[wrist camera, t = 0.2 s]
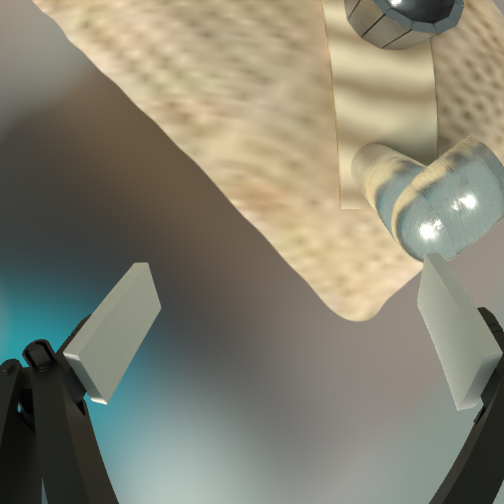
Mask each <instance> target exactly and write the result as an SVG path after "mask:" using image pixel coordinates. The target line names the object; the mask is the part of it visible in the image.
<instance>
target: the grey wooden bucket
mask: <svg viewBox="0 0 504 504" xmlns="http://www.w3.org/2000/svg"><path fill="white" fill-rule="evenodd" d="M344 6H345V12H346V18H347V20H348V23H349V24H350V25H351V26H352V28H353V29H354V30H355V32H356V33H357V34H358V35H359V37H362V38H361V39H363V40H365V41H367V42H369V43H371V44H372V45H374V46H376V47H378V48H381V49H388V50H403V49H406V48H408V47H410V46H412V45H414V44H417V43H419V42H421V41H423V40H425V39H428V38H430V37H432V36H435V35H437V34H439V33H441V32H443V31H445V30H448V29H450V28H452V27H454V26H456V25H457V23H458V21H459V18H460V16H461V13H462V11H463V8H464V7H463V6H464V3H463V0H344Z"/></svg>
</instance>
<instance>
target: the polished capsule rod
mask: <svg viewBox="0 0 504 504" xmlns="http://www.w3.org/2000/svg"><path fill="white" fill-rule="evenodd" d="M351 176H352V179H353V181H354V182H355V184H356V185H357V187H358V188H359V189H360V191H361V192H362V194H363V195H364V196H365V198H366V199H367V201H368V202H369V203H370V205H371V206H372V208H373V209H374V210H375V212H376V213H377V215H378V216H379V218H380V219H381V220H382V222H383V223H384V225H385V226H386V228H387V229H388V231H389V232H390V234H391V235H392V237H393V238H394V240H395V241H396V243H397V244H398V246H399V247H400V248H401V250H402V251H403V252H404V253H405V254H406V255H408V256H409V257H411V258H412V259H414V260H416V261H418V262H421V263H424V259H425V254H428V253H440V254H441V256H442V257H443V258H444V260H445V261H446V262H447V261H449V260H451V259H453V258H454V257H456V256H457V255H459V254H460V253H461V252H463V251H464V250H465V249H467V248H468V247H469V246H470V245H472V244H473V243H474V242H476V241H477V240H478V239H480V238H481V237H482V236H483V235H484V234H486V233H487V232H488V231H489V230H491V229H492V228H493V227H494V226H496V225H497V224H498V223H499V222H500V221H502V220H503V219H504V167H503V165H502V164H501V162H500V161H499V160H498V158H497V157H496V156H495V155H494V153H493V152H492V151H491V150H490V149H489V148H488V147H487V146H486V145H485V144H483V143H482V142H481V141H479V140H478V139H476V138H474V137H470V136H467V137H465V138H464V139H463V140H461V141H460V142H459V143H457V144H456V145H455V146H454V147H452V148H451V149H450V150H448V151H447V152H446V153H445V154H443V155H442V156H441V157H439V158H438V159H437V160H435V161H434V162H433V163H431V164H430V165H429V166H425V165H423V164H421V163H419V162H417V161H415V160H414V159H412V158H410V157H408V156H406V155H404V154H402V153H400V152H398V151H396V150H393V149H391V148H389V147H387V146H385V145H382V144H377V143H373V144H368V145H366V146H363V147H362V148H360V149H359V150H358V151H357V152H356V154H355V155H354V157H353V159H352V162H351Z"/></svg>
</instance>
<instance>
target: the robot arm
mask: <svg viewBox="0 0 504 504" xmlns="http://www.w3.org/2000/svg"><path fill="white" fill-rule="evenodd" d="M417 305H418V307H419V310H420V312H421V314H422V316H423V319H424V321H425V324H426V326H427V328H428V331H429V333H430V336H431V338H432V341H433V343H434V345H435V348H436V351H437V354H438V356H439V359H440V361H441V364H442V367H443V369H444V372H445V375H446V378H447V380H448V384H449V387H450V389H451V393H452V396H453V399H454V402H455V404H456V408H457V410H463V409H468V408H472V407H475V405H476V404H477V402H478V400H479V399H480V397H481V399H482V401H483V404H484V405H483V407H482V409H481V410H480V412H479V413H478V415H477V416H476V418H475V419H474V421H473V422H475V423H474V426H473V427H472V430H471V432H470V434H469V436H468V438H467V440H466V442H465V444H464V446H463V448H462V449H461V451H460V453H459V455H458V457H457V459H456V460H455V462H454V464H453V466H452V468H451V469H450V471H449V473H448V474H447V476H446V478H445V479H444V481H443V483H442V484H441V486H440V487H439V489H438V490H437V492H436V494H435V495H434V497H433V498H432V500H431V501H430V503H429V504H493V501H494V499H495V497H496V495H497V493H498V491H499V488H500V487H501V484H502V482H503V480H504V332H503V329H502V328H501V326H500V325H499V323H498V321H497V320H496V318H495V316H494V315H493V314H492V313H491V312H490V311H488V310H487V309H486V308H485V307H482V308H476V306H475V304H474V303H473V301H472V300H471V298H470V297H469V295H468V294H467V292H466V290H465V289H464V287H463V286H462V284H461V283H460V281H459V280H458V278H457V277H456V276H455V274H454V273H453V271H452V270H451V268H450V267H449V265H448V264H447V263H446V261H445V260H444V258H443V257H442V256H441V254H440V253H428V254H425V259H424V265H423V271H422V277H421V283H420V289H419V294H418V300H417ZM160 310H161V306H160V302H159V299H158V296H157V293H156V289H155V286H154V283H153V279H152V276H151V272H150V269H149V266H148V263H134V264H133V266H132V267H131V268H130V269H129V271H127V273H126V274H125V275H124V276H123V277H122V279H121V280H120V281H119V282H118V283H117V285H116V286H115V287H114V288H113V289H112V291H111V292H110V293H109V294H108V295H107V297H106V298H105V299H104V300H103V302H102V303H101V304H100V305H99V306H98V308H97V309H96V310H95V311H94V313H93V314H90V315H88V316H87V317H86V318H84V319H83V320H82V321H81V322H80V323H79V324H78V325H77V327H76V328H75V330H73V332H72V333H71V336H69V337H68V338H67V339H66V341H65V342H64V343H63V344H62V346H61V347H60V348H59V350H58V351H57V352H56V354H55V352H54V351H53V349H52V347H51V345H50V343H49V342H48V341H47V340H44V339H39V340H35V341H33V342H32V343H30V344H29V345H28V346H26V348H25V349H24V351H23V354H22V356H23V358H24V359H25V361H26V362H27V364H28V365H29V367H22V365H21V364H20V362H19V360H17V359H9V360H6V361H5V362H3V363H2V365H1V366H0V504H42V503H41V502H42V501H41V499H42V497H41V496H42V478H43V483H44V488H45V492H46V497H47V501H48V504H119V503H118V501H117V498H116V495H115V493H114V490H113V488H112V485H111V482H110V480H109V477H108V474H107V471H106V469H105V466H104V463H103V460H102V457H101V454H100V450H99V447H98V444H97V441H96V437H95V434H94V431H93V427H92V424H91V420H90V416H89V412H88V408H87V404H86V402H85V400H84V399H83V397H84V395H85V393H86V392H87V393H88V395H89V396H90V398H91V399H92V401H95V402H100V403H103V404H108V402H109V400H110V398H111V396H112V395H113V393H114V391H115V389H116V387H117V385H118V383H119V382H120V380H121V378H122V376H123V374H124V373H125V371H126V369H127V367H128V365H129V363H130V362H131V360H132V358H133V356H134V354H135V353H136V351H137V349H138V348H139V346H140V344H141V342H142V341H143V339H144V337H145V335H146V334H147V332H148V330H149V328H150V327H151V325H152V323H153V321H154V320H155V318H156V316H157V315H158V313H159V311H160ZM18 405H19V406H20V407H21V410H20V413H19V412H18Z"/></svg>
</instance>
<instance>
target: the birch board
mask: <svg viewBox="0 0 504 504" xmlns="http://www.w3.org/2000/svg"><path fill="white" fill-rule="evenodd" d="M321 3H322V9H323V15H324V22H325V29H326V36H327V43H328V51H329V59H330V67H331V76H332V86H333V96H334V107H335V119H336V133H337V148H338V167H339V193H340V207H341V209H364V208H372V206H371V205H370V203H369V202H368V201H367V199H366V198H365V196H364V195H363V194H362V192H361V191H360V189H359V188H358V187H357V185H356V184H355V182H354V181H353V179H352V176H351V162H352V159H353V157H354V155H355V154H356V152H357V151H358V150H359V149H360V148H362V147H363V146H366V145H368V144H373V143H377V144H382V145H385V146H387V147H389V148H391V149H393V150H396V151H398V152H400V153H402V154H404V155H406V156H408V157H410V158H412V159H414V160H415V161H417V162H419V163H421V164H423V165H425V166H429V165H430V164H431V163H433V162H434V161H435V160H437V157H438V138H437V107H436V91H435V79H434V68H433V59H432V51H431V44H430V38H428V39H425V40H423V41H421V42H419V43H417V44H414V45H412V46H410V47H408V48H406V49H403V50H388V49H381V48H378V47H376V46H374V45H372V44H371V43H369V42H367V41H365V40H363V39H361V38H362V37H359V35H358V34H357V33H356V32H355V30H354V29H353V28H352V26H351V25H350V24H349V23H348V20H347V18H346V12H345V6H344V0H321Z"/></svg>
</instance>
